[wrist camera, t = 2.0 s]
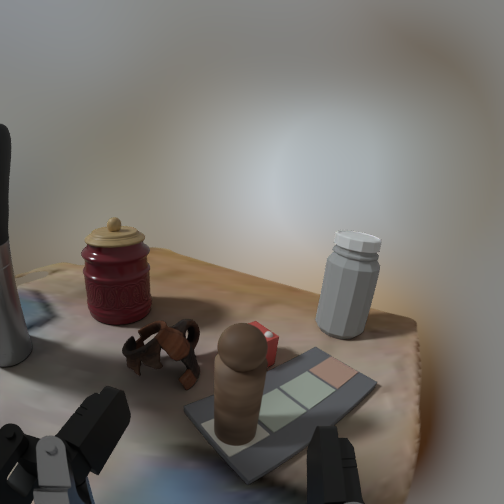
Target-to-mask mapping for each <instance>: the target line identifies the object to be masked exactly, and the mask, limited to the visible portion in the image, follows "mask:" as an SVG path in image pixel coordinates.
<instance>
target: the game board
mask: <svg viewBox="0 0 504 504" xmlns="http://www.w3.org/2000/svg"><path fill="white" fill-rule="evenodd" d="M376 384H377V382H376V381H374V380H373V379H371V378H369V377H367V376H365V375H364V374H362V373H360V372H358V371H357V370H355V369H353V368H351V367H350V366H348V365H346V364H344V363H343V362H341V361H339V360H337V359H336V358H334V357H332V356H331V355H329V354H327V353H325V352H324V351H322V350H320V349H319V348H317V347H314V348H312V349H310V350H308V351H307V352H305V353H303V354H301V355H299V356H297V357H295V358H293V359H291V360H289V361H287V362H285V363H283V364H281V365H279V366H277V367H275V368H273V369H271V370H269V371H267V373H266V379H265V385H264V390H263V396H262V402H261V408H260V413H259V419H258V424H257V430H256V435H255V437H254V439H253V440H252V441H250V442H249V443H247V444H245V445H241V446H232V445H228V444H225V443H223V442H221V441H220V440H219V439H218V438H217V437H216V435H215V433H214V395H212V396H209V397H206V398H204V399H201V400H199V401H196V402H193V403H190V404H188V405H185V406H184V412H185V413H186V414H187V416H188V417H189V418H190V420H191V421H192V422H193V423H194V425H195V426H196V427H197V428H198V430H199V431H200V432H201V433H202V435H203V436H204V437H205V438H206V439H207V441H208V442H209V443H210V444H211V445H212V447H213V448H214V449H215V450H216V451H217V452H218V453H219V455H220V456H221V457H222V458H223V459H224V460H225V461H226V462H227V463H228V465H229V466H230V467H231V468H232V469H233V470H234V471H235V472H236V473H237V474H238V475H239V476H240V477H241V478H242V479H243V480H244V481H245V482H246V483H247V484H248V485H249V484H250V483H252V482H254V481H256V480H257V479H259V478H261V477H262V476H264V475H266V474H267V473H269V472H270V471H272V470H274V469H275V468H277V467H278V466H280V465H281V464H283V463H284V462H286V461H287V460H289V459H290V458H292V457H293V456H294V455H296V454H297V453H299V452H300V451H301V450H303V449H304V448H306V447H307V446H308V445H309V443H310V441H311V439H312V436H313V434H314V431H315V429H316V427H317V426H334V425H335V424H336V423H337V422H338V421H339V420H341V419H342V418H343V417H344V416H345V415H346V414H347V413H349V412H350V411H351V410H352V409H353V408H354V407H355V406H356V405H357V404H358V403H359V402H360V401H362V400H363V399H364V398H365V397H366V396H367V395H368V394H369V393H370V392H371V391H372V390H373V389H374V388H375V386H376Z"/></svg>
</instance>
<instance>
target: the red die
mask: <svg viewBox="0 0 504 504" xmlns="http://www.w3.org/2000/svg"><path fill="white" fill-rule="evenodd" d="M248 324H251V325H253V326H255V327H257V328H258V329H259V330H260V331H261V332H262V333H263V334H264V336H265V338H266V340H267V345H268V350H267V355H266V359H267V362H268V366H267V367H269V366H271V365H273V364H274V363H275V357H276V351H277V345H278V339H279V336H277V335H276V334H274V333H273V332H271V331H270V330H268V329H267V328H265V327H264V326H262V325H261V324H260V323H258V322H257V321H254V322H251V323H248Z"/></svg>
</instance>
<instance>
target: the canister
mask: <svg viewBox="0 0 504 504" xmlns="http://www.w3.org/2000/svg"><path fill="white" fill-rule="evenodd" d="M144 239H145V236H144V234H142V233H141V232H139V231H138V230H137V229H136V228H133V227H128V226H121V221H120V220H119V219H118V218H116V217H113V218H110V219H109V221H108V223H107V227H102V228H98V229H95V230H93V231H92V233H91V234H89V235H88V236H87V237H86V238H85V242H86V244H87V246H86V247H85V248H84V249H83V250H82V252H81V256H82V257H83V258H84V259H85V267H84V269H83V274H84V277H85V285H86V292H87V304H88V308H89V310H90V313H91V315H92V317H93V318H94V319H96V320H98V321H100V322H102V323H106V324H112V325H121V324H129V323H133V322H136V321H138V320H140V319H142V318H144V317H145V316H146V315H147V314H148V313H149V312H150V310H151V304H152V300H151V299H152V297H151V294H150V276H149V270H150V265H149V263H148V262H147V255H148V254H149V252H150V249H149V247H148V246H147V245H146V244H144V243H143V240H144Z"/></svg>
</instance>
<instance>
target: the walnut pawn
mask: <svg viewBox="0 0 504 504" xmlns="http://www.w3.org/2000/svg"><path fill="white" fill-rule="evenodd" d="M267 350H268V345H267V340H266V338H265V336H264V334H263V333H262V332H261V331H260V330H259V329H258V328H257V327H255V326H253V325H251V324H247V323H238V324H234V325H232V326H230V327H228V328H227V329H226V330H225V331H224V332H223V333H222V334H221V336H220V338H219V341H218V354H217V355H216V357H215V372H214V433H215V435H216V437H217V438H218V439H219V440H220V441H221V442H223V443H225V444H228V445H232V446H241V445H245V444H247V443H249V442H250V441H252V440H253V439H254V437H255V435H256V430H257V424H258V419H259V413H260V408H261V402H262V396H263V390H264V385H265V379H266V373H267V366H268V362H267V359H266V355H267Z"/></svg>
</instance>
